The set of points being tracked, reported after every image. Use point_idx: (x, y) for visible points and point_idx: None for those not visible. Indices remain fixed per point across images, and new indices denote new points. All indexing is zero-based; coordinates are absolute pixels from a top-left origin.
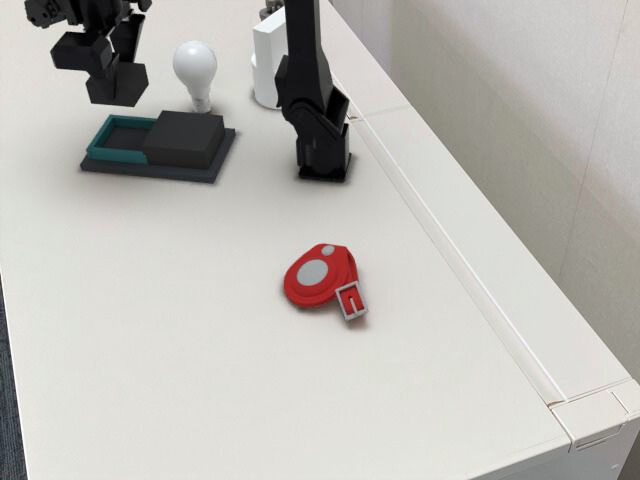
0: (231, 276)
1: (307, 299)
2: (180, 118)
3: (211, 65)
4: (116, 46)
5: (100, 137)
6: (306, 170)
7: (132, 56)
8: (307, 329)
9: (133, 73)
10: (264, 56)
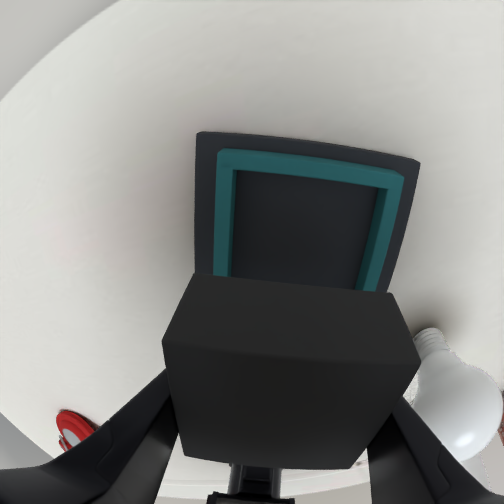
0: (60, 380)
1: (59, 425)
2: None
3: None
4: (408, 475)
5: (288, 174)
6: None
7: (369, 471)
8: (48, 412)
9: (276, 463)
10: None
